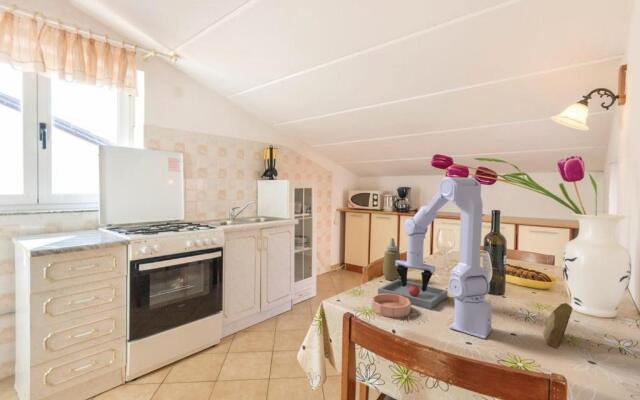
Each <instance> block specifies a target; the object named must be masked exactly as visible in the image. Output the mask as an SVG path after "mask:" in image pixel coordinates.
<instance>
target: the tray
mask: <svg viewBox="0 0 640 400" xmlns="http://www.w3.org/2000/svg"><path fill="white" fill-rule="evenodd" d="M411 285H416V286H418V287H419V289H420V293H419V295H417V296H412V295H410V293H409V291H408V289H409V287H410V286H411ZM387 293H389V294H396V295H401V296H403V297H405V298H408V299H409V301H410V303H411V306H412V305H413V306H415V307H419V308H422V309H427V310H430V311H431V310H433V309H434V308H435V307H437V306H438V305H439V304H440V303H441V302H443V301H444V300H445V299H447V298H448V295H449V294H448V290H447V289H443V288H439V287H435V286H429V285H427V289H426V291H425V292H423V291H422V283H421V284H420V283H416V282H412V281H408V280H407V285H406V286H405V287H403V286H402V282H401V279H400V278H399V279H397V280H394V281H391V282H390V283H388V284H385V285H383V286H381V287H378V288H377V294H387Z"/></svg>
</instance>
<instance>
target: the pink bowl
mask: <svg viewBox="0 0 640 400" xmlns="http://www.w3.org/2000/svg"><path fill="white" fill-rule="evenodd" d="M411 306H412V304H411V303H410V301H409V299H408V298H405V297H403V296H401V295H396V294H389V293H387V294H378V293H377V294H375V295H373V296H371V310H372V312H374V313H375V314H377V315H380V316H383V317H386V318H396V319H397V318H403V317H407V316H408V315H409V314H410V311H411V310H412V309H411Z"/></svg>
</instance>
